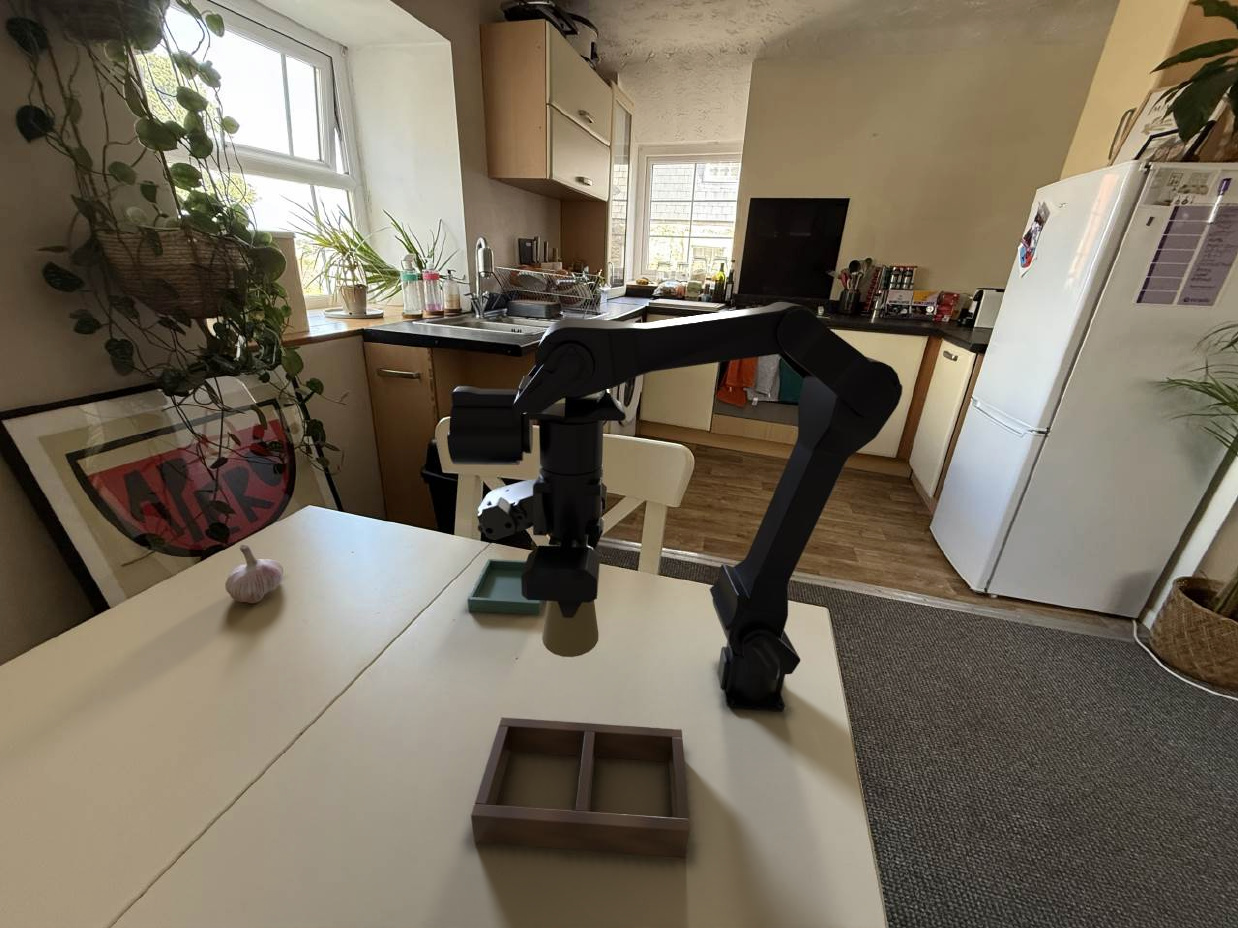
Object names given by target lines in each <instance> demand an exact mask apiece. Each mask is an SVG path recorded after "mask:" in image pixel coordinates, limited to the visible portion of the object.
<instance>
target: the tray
mask: <svg viewBox="0 0 1238 928" xmlns="http://www.w3.org/2000/svg"><path fill="white" fill-rule="evenodd" d="M526 561H527V560H515V559H499V558H498V559H497V558H488V559H487V561H486V562H485V565H484V566H483V569H482V570H481V572H480V574H479V576H478V578H477V580H476V582H475V584H474V586H473V587H472V589H471V592H470V593H469V595H468V597H467V609H468V611H469V612H483V613H484V612H485V613H499V614H501V613H502V614H517V615H518V614H519V615H533V616H534V615H535V616H540V615H541V612H542V609H543V605H544V602H545V601H541V600H527V599H526V598H524V597H523V596H522V588H521V575H522V572H523V569H524V566H525V563H526Z"/></svg>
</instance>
